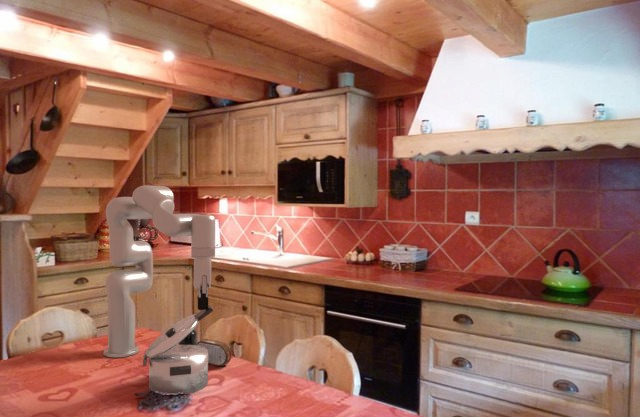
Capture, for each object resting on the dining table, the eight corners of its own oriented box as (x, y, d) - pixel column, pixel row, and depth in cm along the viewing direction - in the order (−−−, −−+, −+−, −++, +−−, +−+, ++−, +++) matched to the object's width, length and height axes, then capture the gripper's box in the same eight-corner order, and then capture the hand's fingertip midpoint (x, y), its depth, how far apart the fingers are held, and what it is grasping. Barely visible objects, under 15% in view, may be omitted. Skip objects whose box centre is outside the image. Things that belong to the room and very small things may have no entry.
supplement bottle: (189, 351, 181) (189, 320, 181) (200, 354, 177) (201, 323, 177) (174, 355, 176) (174, 324, 176) (186, 359, 172) (186, 327, 172)
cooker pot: (144, 374, 156) (144, 345, 156) (204, 368, 163) (205, 340, 163) (141, 403, 134) (141, 369, 134) (211, 395, 140) (211, 363, 140)
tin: (231, 366, 166) (232, 342, 166) (226, 369, 163) (226, 345, 163) (198, 359, 172) (199, 336, 172) (193, 361, 170) (193, 339, 170)
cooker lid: (147, 348, 154) (142, 342, 154) (209, 302, 161) (205, 296, 160) (144, 367, 136) (139, 361, 136) (215, 315, 143) (210, 309, 142)
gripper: (189, 250, 156) (189, 305, 156) (192, 255, 142) (192, 315, 142) (212, 250, 159) (212, 303, 159) (217, 254, 145) (217, 313, 145)
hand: (202, 309), depth 151 cm, fingers closed
